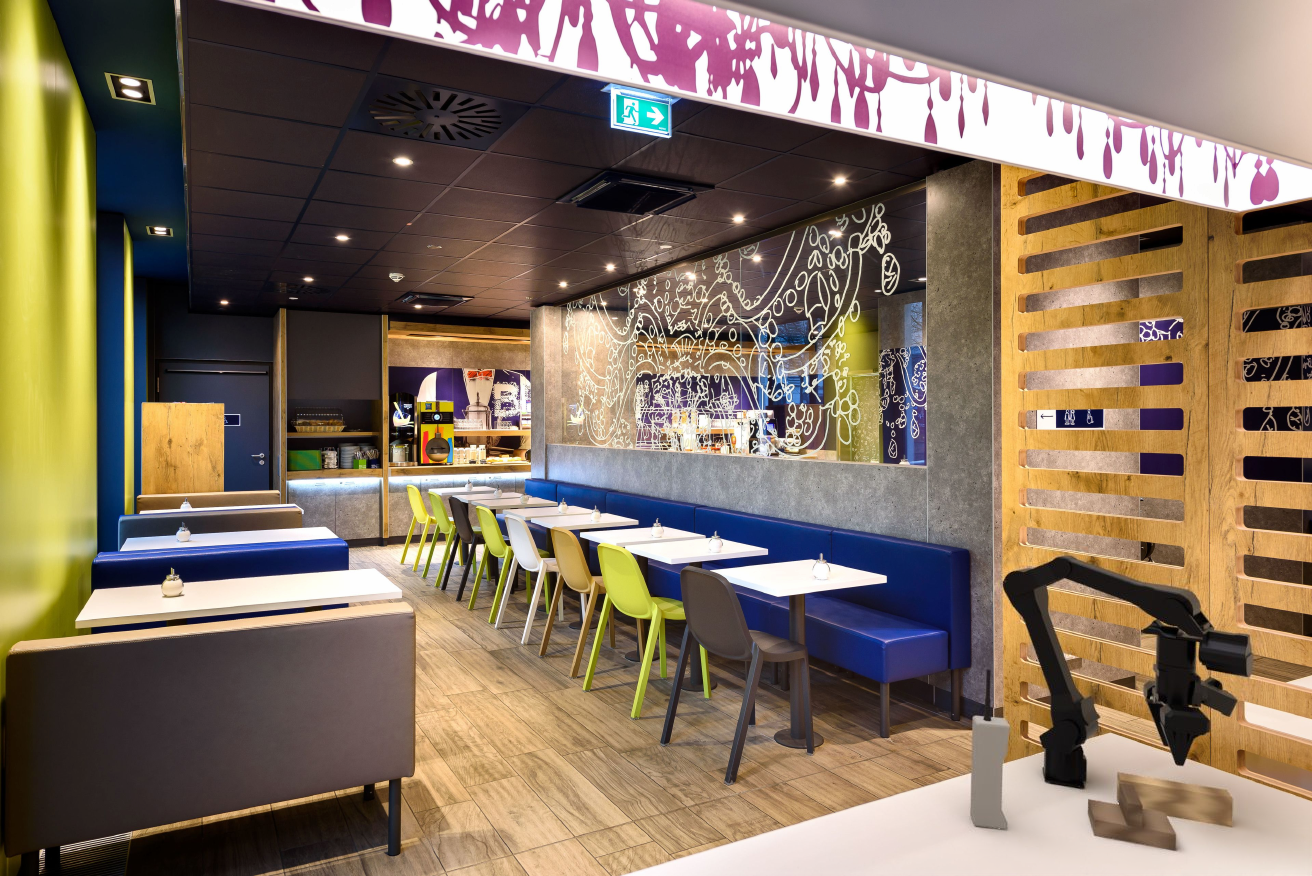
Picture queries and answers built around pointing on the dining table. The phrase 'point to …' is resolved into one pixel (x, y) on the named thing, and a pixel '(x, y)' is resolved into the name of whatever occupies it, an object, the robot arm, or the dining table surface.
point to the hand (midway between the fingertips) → (1173, 755)
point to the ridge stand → (1131, 821)
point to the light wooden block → (1181, 799)
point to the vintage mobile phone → (988, 766)
